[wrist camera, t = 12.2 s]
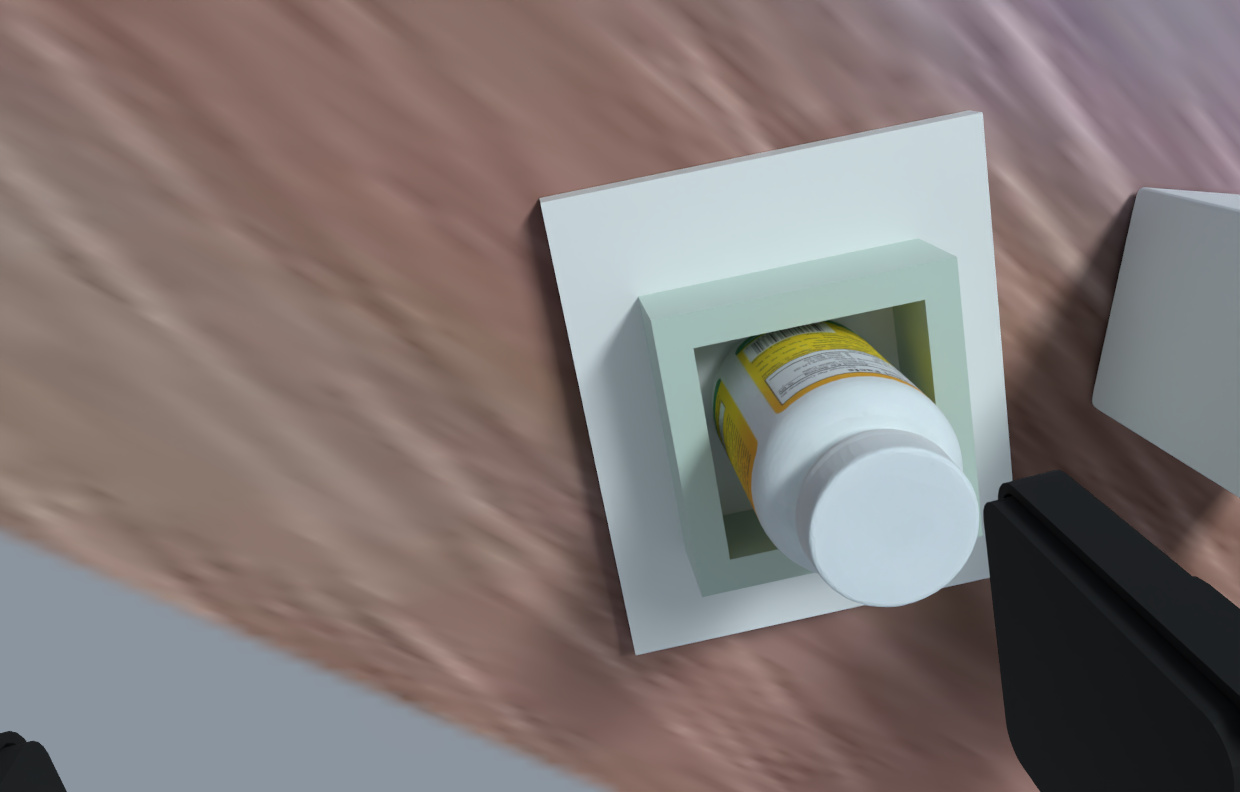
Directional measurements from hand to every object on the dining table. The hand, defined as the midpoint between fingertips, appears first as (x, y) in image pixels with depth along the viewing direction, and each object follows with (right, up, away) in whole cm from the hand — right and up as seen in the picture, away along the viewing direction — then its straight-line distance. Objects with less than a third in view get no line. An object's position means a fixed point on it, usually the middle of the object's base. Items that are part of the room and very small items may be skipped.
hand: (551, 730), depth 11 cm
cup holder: (+6, +3, +24) cm, 25 cm away
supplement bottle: (+6, +3, +24) cm, 25 cm away
